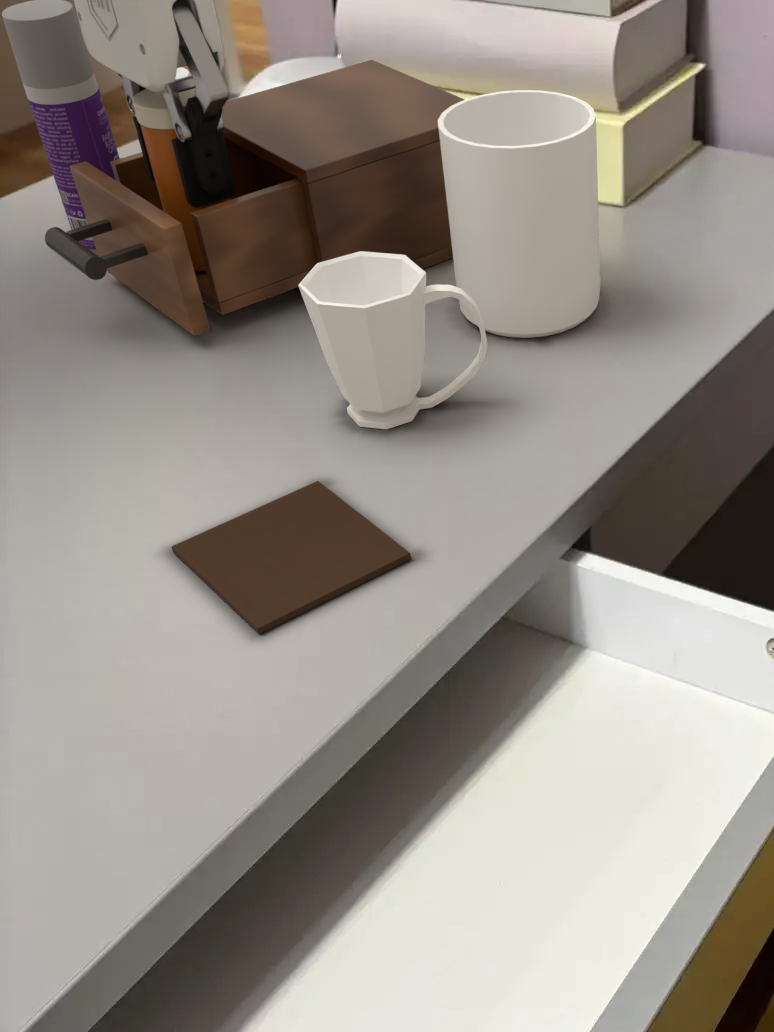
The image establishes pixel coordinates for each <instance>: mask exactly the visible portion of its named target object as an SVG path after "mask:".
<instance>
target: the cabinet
mask: <svg viewBox="0 0 774 1032" xmlns="http://www.w3.org/2000/svg"><path fill="white" fill-rule="evenodd" d="M463 100H465V98H463V97H460V96H458V95H456V94H453V93H451V92H449V91H446V90H444V89H441V88H439V87H437V86H434V85H432V84H431V83H427V82H426V81H423V80H421V79H418V78H416V77H414V76H411V75H409V74H406V73H405V72H401V71H400V70H397V69H395V68H393V67H390V66H388V65H386V64H384V63H381V62H379V61H376V60H373V59H370V60H366V61H362V62H358V63H355V64H352V65H349V66H345V67H342V68H338V69H334V70H331V71H327V72H324V73H321V74H317V75H313V76H310V77H307V78H303V79H299V80H296V81H293V82H289V83H285V84H282V85H278V86H276V87H271V88H268V89H265V90H261V91H258V92H254V93H251V94H250V93H249V94H248V95H244V96H241V97H237V98H233V99H229V100H227V101H226V103H225V104H224V106H223V108H222V114H221V116H222V119H223V122H224V131H223V136H224V137H225V138H226V139H228V140H230V141H232V142H234V143H236V144H237V145H239V146H241V147H243V148H245V149H246V150H248V151H250V152H252V153H254V154H256V155H257V156H259V157H261V158H263V159H265V160H266V161H268V162H270V163H272V164H274V165H276V166H277V167H279V168H281V169H283V170H285V171H286V172H288V173H290V174H292V175H294V176H296V177H297V178H299V179H301V180H302V184H303V189H304V194H305V200H306V205H307V210H308V215H309V220H310V225H311V230H312V236H313V241H314V246H315V251H316V256H317V261H318V263H320V262H323V261H327V260H330V259H334V258H338V257H341V256H345V255H349V254H352V253H356V252H359V251H364V252H376V253H389V254H401V255H406V256H407V257H408V258H409V259H410V260H412V261H413V262H414V263H415V264H416V265H418V266H419V267H420V268H421V269H422V270H424V269H426V268H429V267H431V266H435V265H437V264H440V263H442V262H445V261H447V260H450V259H453V251H452V242H451V234H450V225H449V216H448V207H447V199H446V190H445V181H444V172H443V163H442V155H441V146H440V137H439V128H438V119H439V117H440V115H441V114H442V112H444V111H445V110H446V109H448V108H449V107H450V106H452V105H454V104H456V103H458V102H461V101H463Z"/></svg>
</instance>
